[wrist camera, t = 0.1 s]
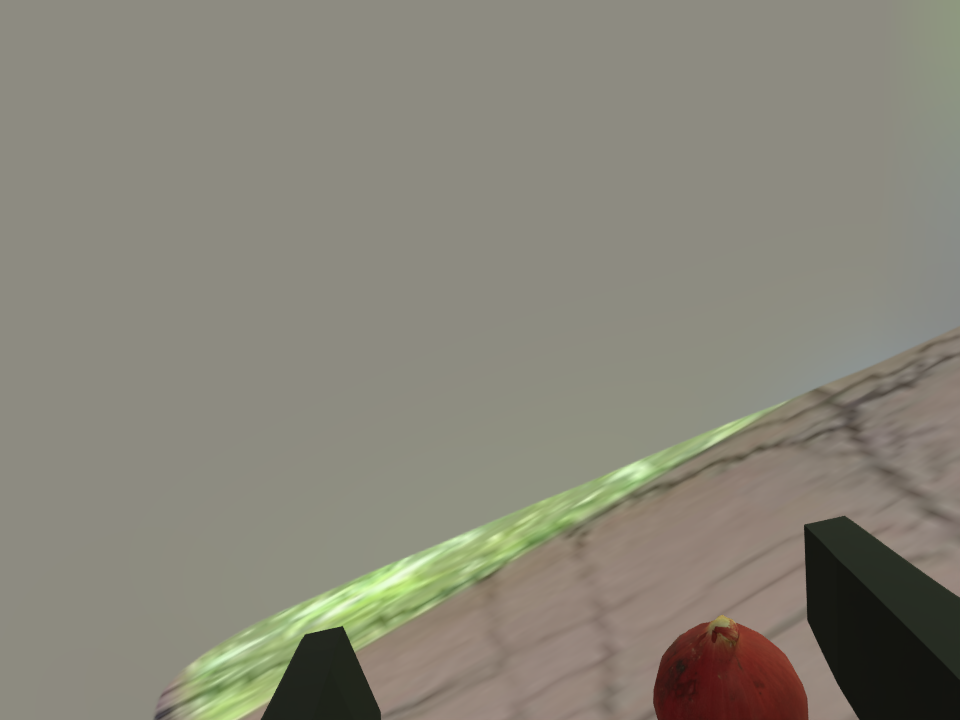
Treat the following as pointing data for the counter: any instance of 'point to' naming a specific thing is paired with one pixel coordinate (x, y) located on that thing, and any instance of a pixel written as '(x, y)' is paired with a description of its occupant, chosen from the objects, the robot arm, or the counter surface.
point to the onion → (727, 677)
